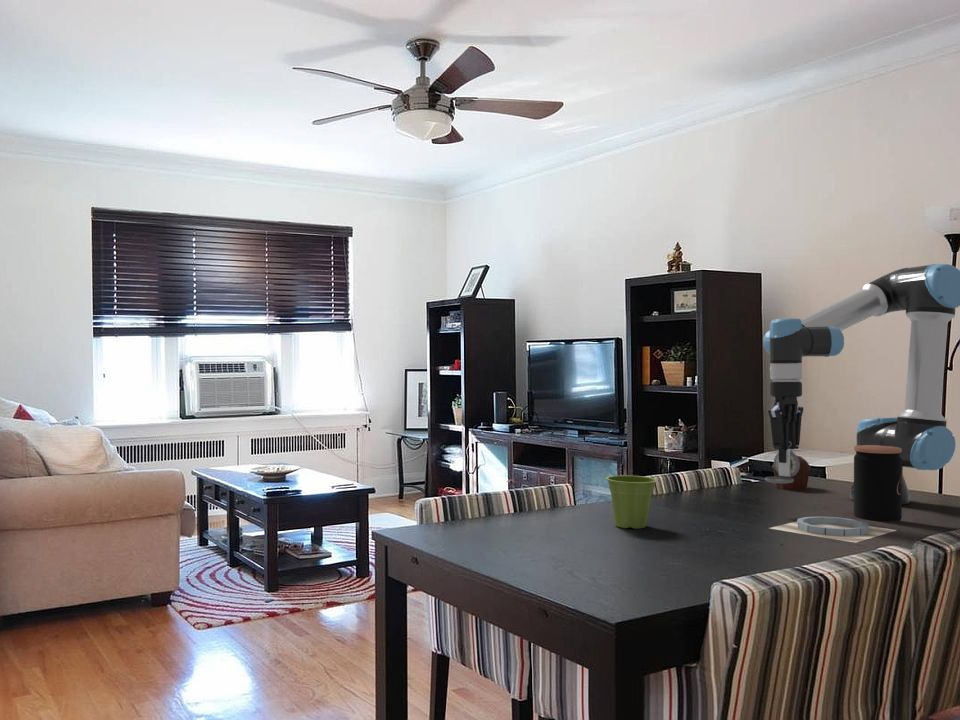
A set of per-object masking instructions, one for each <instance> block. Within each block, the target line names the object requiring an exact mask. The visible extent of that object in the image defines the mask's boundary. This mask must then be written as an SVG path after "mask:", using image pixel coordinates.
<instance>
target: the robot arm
mask: <svg viewBox="0 0 960 720" xmlns="http://www.w3.org/2000/svg"><path fill="white" fill-rule="evenodd" d="M958 307H960V269H958V268H957V267H956V266H954V265H953V264H949V263H932V264H928V265H919V266H914V267H913V266H911V267H903V268H900V269H896V270H894V271H891V272H889V273H887V274H884V275H882V276H881V277H879V278H877V279H875V280H871V281H870V282H867V283H866V284H864V285H862V287H860V289H859V291H858V292H856V293H854V294H851V295H849V296H848V297H844V298H843V299H841V300H839V301H836V302H834V303H832V304H830V305H829V306H827V307H825V308H824V307H823V308H822V309H820V310H818V311H816V312H813V313H812V314H810V315H807V316H805V317H803V318H801V319H800V318H795V317H794V318H792V317H791V318H774V319H772V320H771V321H770V324H769V330H768V331H766V332H765V334H764V336H763V340H762V345H763V348H764V351H765V352H766V353H767V354H768V355H769V365H770V367H769V368H768V370H769V373H770V374H769V378H770V380H772V381H770V383H769V394H770V395H769V396H771V397H774V398H775V399H774V403H773V408H768V409H767V411H768V416H769V418H770V427H771V428H770V429H771V437H772V438H771V439H772V447H773V448H774V450H778V453H779V476H790V467H793V466H792V465H791V466H790V451H791V452H793V453H794V454H795V450H798V449H799V446H800V442H801V441H800V440H801V431H802V430H801V429H802V416H803V414H804V413H803V412H804V407H803V406H800V405H799V402H798V398H800V397H802V396H803V382H802V381H801V380H802V379H803V357H825V358H829V357H834V356H838V355H839V354H841V352H842V351H843V349H844V346H845V337H844V334H843V332H842V331H844V330H846V329H848V328H850V327H853V326H854V325H857V324H859V323H860V322H863V321H865V320H867V319H868V318H871V317H876V318H877V317H878V318H879V317H882V316H884V315H886V314H889V313H893V312H899V311H900V312H901V311H902V312H903V311H905V316H906V317H907V318H908V319H909V320H910V321H911V323H910V324H911V325H910V333H909V334H910V335H909V347H908V359H907V360H908V361H907V372H906V373H907V374H906V384H905V385H906V386H905V398H904V408H903V411H901V413H899V414H898V415H897V417H896V416H895V417H876V418H875V417H874V418H873V417H872V418H865V419H864V418H863V419H860V420H859V421H858V423H857V430H856V446H860V445H876V446H891V447H898V448H901V449H902V452H901V454H900V457H901V459H902V505H908V504H909V503H910V500H911V496H910V491H909V489H908V486H907V483H906V480H905V476H904V473H903V472H904V470H903V469H904V468H909V469H916V470H918V471H937V470H940V469H942V468H944V467H945V466H946V464H948V463H950V462H951V460H952V458H953V456H954V454H955V451H956V437H955V436H954V435H953V434H954V433H953V432H952V431H951V429H949V428H948V427H947V423H948V422H947V419H946V418H945V417H944V416H943V414H942V402H943V401H942V400H943V390H944V387H943V386H944V373H945V364H946V363H945V358H946V352H947V351H946V348H947V338H948V323H949V322H950V321H951V320H953V319H954V318H955V317H956V309H957V308H958ZM788 441H790V442H791V443H792V445H791V444H790V442H788ZM790 445H791V446H790ZM788 446H790V447H789V448H788ZM791 469H792V468H791ZM849 499H850V500H851V501H854V481H853V482H852V485H851V488H850V491H849Z"/></svg>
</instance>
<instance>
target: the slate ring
mask: <svg viewBox="0 0 960 720" xmlns="http://www.w3.org/2000/svg"><path fill="white" fill-rule="evenodd" d="M811 524H835V525H844V526H850V527H854V528H831V527H822V526H815V525H811ZM869 526H870V525H869V524H868V523H867V522H865V521H863V520H862V521H861V520H858V519H853V518H845V517H838V516H837V517H836V516H823V515H822V516H805V517H800V518H799V517H798V518H797V527H798V529H800V530H803V531H806V532H810V533H816V534H822V535H825V534H826V535H833V536H860V535H864V534H868V533H869Z"/></svg>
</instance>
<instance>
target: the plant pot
mask: <svg viewBox="0 0 960 720" xmlns="http://www.w3.org/2000/svg"><path fill="white" fill-rule="evenodd" d="M605 480H606V481H607V483H608V488H609V491H610V497H611V505H612V511H613V512H612V513H613V520H614V524H615V527H617V528H622V529H628V528H632V529H633V530H634V529H635V530H639V529H645V528H646V527H647V522H648V518H649V512H650V507H651V500H652V495H653V492H654V489H655V485H656V483H657V482H658V480H657V478H653V477H649V476H643V475H642V476H641V475H611V476H606V477H605Z"/></svg>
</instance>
